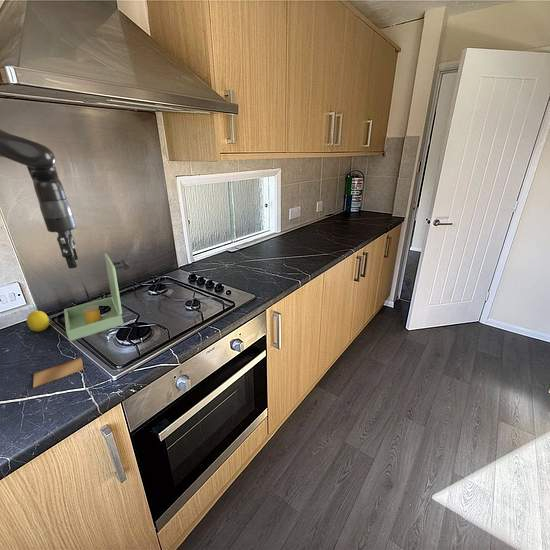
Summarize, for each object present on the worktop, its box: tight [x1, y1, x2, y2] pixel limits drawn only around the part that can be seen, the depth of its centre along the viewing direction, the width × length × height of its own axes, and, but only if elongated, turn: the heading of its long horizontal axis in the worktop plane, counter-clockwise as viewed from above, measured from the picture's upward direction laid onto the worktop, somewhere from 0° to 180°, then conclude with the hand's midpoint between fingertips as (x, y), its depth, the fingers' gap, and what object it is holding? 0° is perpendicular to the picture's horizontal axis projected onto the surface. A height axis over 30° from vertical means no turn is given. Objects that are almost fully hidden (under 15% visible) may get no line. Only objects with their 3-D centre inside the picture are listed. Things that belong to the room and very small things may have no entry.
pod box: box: [63, 296, 125, 342], centre depth 101 cm, size 16×18×4 cm
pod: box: [83, 305, 102, 324], centre depth 101 cm, size 5×5×5 cm
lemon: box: [26, 310, 50, 332], centre depth 96 cm, size 6×6×8 cm
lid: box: [103, 253, 130, 315], centre depth 103 cm, size 16×18×6 cm
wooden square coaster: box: [32, 356, 84, 388], centre depth 81 cm, size 11×11×1 cm
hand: (73, 263), depth 96 cm, fingers open, 8 cm apart
